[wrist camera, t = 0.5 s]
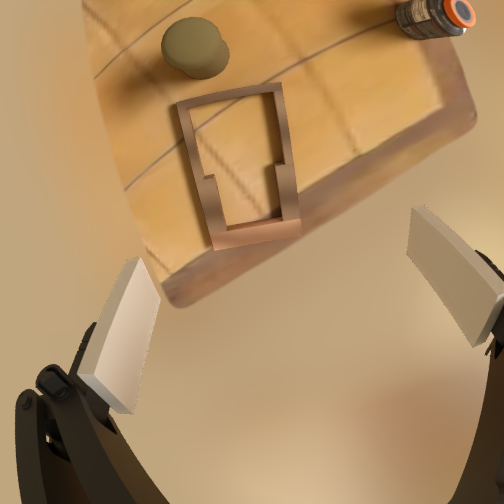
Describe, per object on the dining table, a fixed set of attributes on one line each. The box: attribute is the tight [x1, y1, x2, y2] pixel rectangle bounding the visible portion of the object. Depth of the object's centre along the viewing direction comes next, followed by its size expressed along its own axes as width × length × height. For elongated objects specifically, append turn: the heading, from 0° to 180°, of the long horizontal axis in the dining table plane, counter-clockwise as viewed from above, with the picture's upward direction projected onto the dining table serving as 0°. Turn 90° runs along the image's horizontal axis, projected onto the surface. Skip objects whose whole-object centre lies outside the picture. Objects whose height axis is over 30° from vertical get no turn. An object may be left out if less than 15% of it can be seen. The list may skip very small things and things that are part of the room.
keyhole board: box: [176, 82, 302, 251], centre depth 34 cm, size 20×12×2 cm, turn 10°
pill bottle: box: [395, 0, 476, 40], centre depth 18 cm, size 6×6×11 cm
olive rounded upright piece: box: [161, 17, 230, 79], centre depth 22 cm, size 6×6×11 cm
